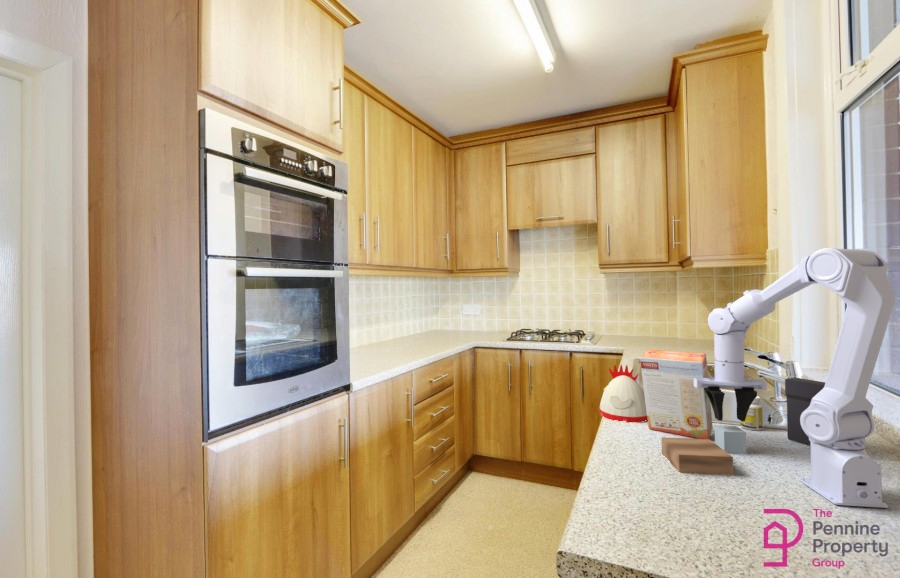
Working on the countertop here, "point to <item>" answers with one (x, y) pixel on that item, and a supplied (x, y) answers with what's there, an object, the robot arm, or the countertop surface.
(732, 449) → the slate block
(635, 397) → the kitchen timer
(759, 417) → the supplement bottle
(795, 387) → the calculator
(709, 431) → the cracker box
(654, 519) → the countertop surface
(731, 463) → the walnut block
